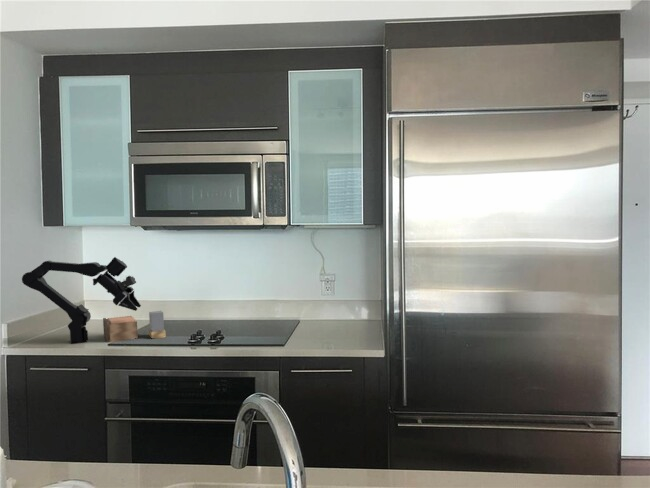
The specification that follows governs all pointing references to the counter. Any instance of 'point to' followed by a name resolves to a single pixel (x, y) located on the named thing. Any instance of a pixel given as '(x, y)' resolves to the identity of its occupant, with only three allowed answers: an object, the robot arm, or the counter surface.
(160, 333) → the oak plinth
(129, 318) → the terracotta flap
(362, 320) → the counter surface
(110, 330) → the walnut frame
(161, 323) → the granite block
